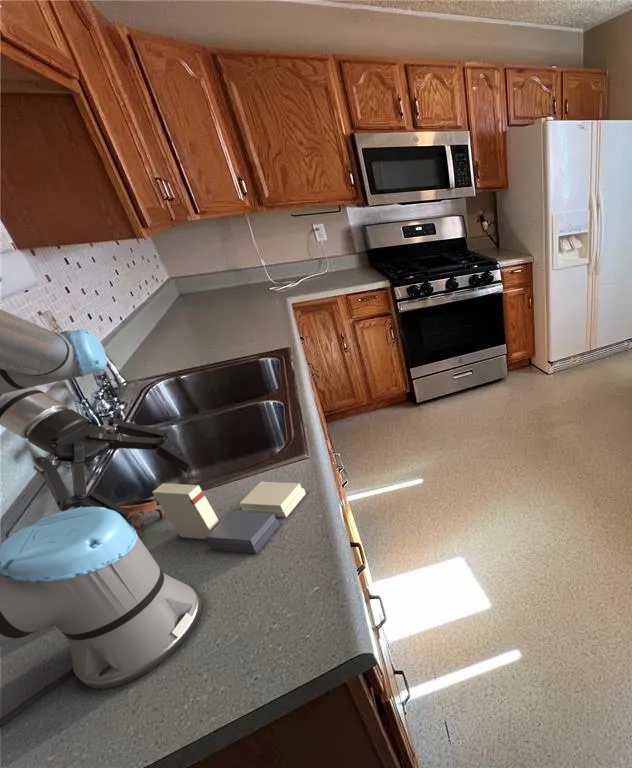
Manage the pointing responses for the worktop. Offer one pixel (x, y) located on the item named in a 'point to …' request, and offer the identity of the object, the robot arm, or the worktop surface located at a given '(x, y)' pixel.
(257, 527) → the grey books
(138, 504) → the brown footed bowl
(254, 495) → the cream books
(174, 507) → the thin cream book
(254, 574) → the worktop surface
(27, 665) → the worktop surface
